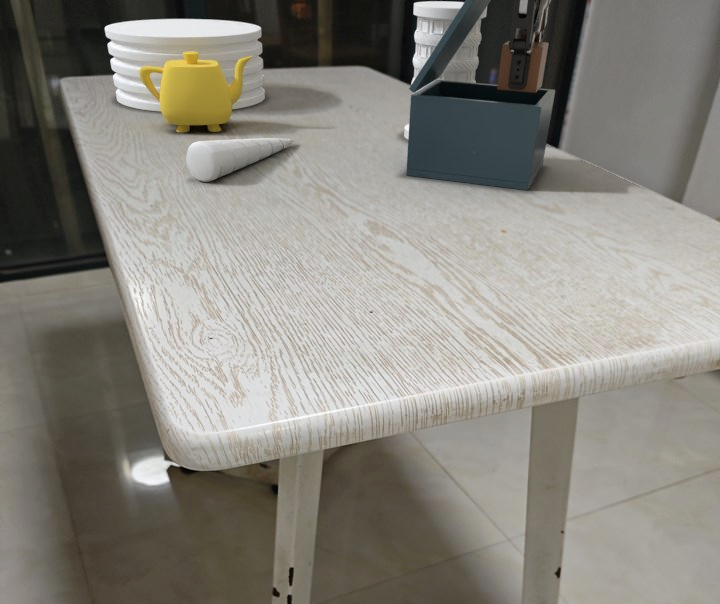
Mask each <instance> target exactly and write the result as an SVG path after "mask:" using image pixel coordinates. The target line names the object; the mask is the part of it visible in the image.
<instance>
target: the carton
mask: <svg viewBox="0 0 720 604" xmlns="http://www.w3.org/2000/svg"><path fill="white" fill-rule="evenodd" d="M509 41H510V40H508V41H506V42H504V43H503V44H502V49H501V54H500V55H501V56H500V63H499V71H498V79H497V85H498V86H497V90H506V91H518V92H529V93H536V92H537V91H538V90H539V89H542V87H543V80H544V74H545V69H546V62H547V55H548V50H549V42H544V41H542V42H534V43H533V52H532V53H531V55H530V56H531V57H530V63H529V70H528V77H527V83H526V87H525V88H524V89H522V90H519V89H510V88H509V87H508V81H509V74H510V67H511V59H512V55H513V54H511V51H510V50H509V46H508V45H509Z"/></svg>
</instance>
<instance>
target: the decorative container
mask: <svg viewBox="0 0 720 604" xmlns="http://www.w3.org/2000/svg"><path fill="white" fill-rule="evenodd" d="M464 2H465V1H447V0H446V1H443V0H439V1H438V0H429V1H418V2H417V1H416V2H414V3H413V11H412V13H413V14H412V15H414V16H416V18H417V20H416V30H415V31H414V34H413V38H414V42H415V50H414V51H415V52H414V54H413V57H412V65H413V66H412V67H413V68H414V70H413V77H412V80H411V83H410V86H411V85H412V83H413V82H414V80H415V79H416V77H417V75H418V74H419V72H420V71H421V69H422V68H423V66H424V65H425V63H426V61H427V60H428V58H429V57H430V55H431V54H432V52H433V51H434V49H435V47H436V46H437V44H438V43H439V41H440V40H441V38H442V37H443V35H444V34H445V32H446V30H447V29H448V27H449V26H450V24H451V23H452V21H453V20H454V18H455V16H456V15H457V13H458V12H459V10H460V9H461V7H462V6H463V4H464ZM487 12H488V6H487V7H486V8H485V10H484V11H483V13H482V14H481V16H480V17H479V19H478V20H477V22H476V23H475V25H474V26H473V28H472V29H471V31H470V32H469V34H468V35H467V37H466V38H465V40H464V41H463V43H462V44H461V46H460V47H459V49H458V50H457V52H456V53H455V55H454V56H453V58H452V59H451V61H450V62H449V64H448V65H447V67H446V68H445V70H444V71H443V73H442V74H441V76H440V77H439V78H438V79H436V80H447V81H458V82H470V83H477V82H476V81H477V80H476V71H477V69H478V66H479V63H480V60H479V56H478V54H479V45H481V41H482V38H483V37H482V33H481V24H482V20H483V19H484V18H486V17H487V14H488V13H487ZM436 80H434V81H436ZM434 81H433V82H434ZM431 83H432V82H431ZM431 83H429V84H431ZM429 84H428V85H429ZM426 86H427V85H426ZM426 86H424V87H426ZM424 87H423V88H424ZM421 89H422V88H421ZM421 89H419V90H421ZM419 90H418V91H419ZM416 92H417V91H416ZM416 92H414V93H416ZM414 93H413V92H412V94H414ZM403 137H404V138H405V139H406V140H408V138H409V123H407V124H405V125H404V132H403Z"/></svg>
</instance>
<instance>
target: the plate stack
mask: <svg viewBox="0 0 720 604" xmlns="http://www.w3.org/2000/svg"><path fill="white" fill-rule="evenodd" d="M104 33H105V37H106V38H107V39H109V40H110V41H109V42H108V43H107V51H108V54H109V55H110V56H113V57H112V58H110V60H109V62H110V63H109V64H110V67H111V70H112V71H113V72H114V74H113V75H112V80H113V85H114V86H115V87H116V88H117V89H116V90H115V97H116V102H118V103H119V104H121V105H123V106H125V107H129V108H132V109H137V110H143V111H148V112H149V111H151V112H160V113H162V112H161V109H160V102H159V101H158V100H157V99H156V98H155V97H154V96H153V94H152V93H151V92H150V91H149V90H148V89H147V87H146V86H145V85H144V83H143V82H142V80H141V78H140V75H139V69H140V68H141V67H144V66H155V67H161V68H164V65H165V63H166V62H167V61H170V60H185V58H184V56H183V53H184V52H189V51H192V52H198V53H199V56H198V60H214V61H217V62H218V63H219V65H220V67H221V70H222V72H223V74H224V77H225V79H226V82H227V84H228V86H229V85H231V84H232V82H233V80H234V77H235V67H236V64H237V62H238V60H239V59H241V58H245V57H249V56H253V57H252V58H251V59H250V60H249V61H248V62H247V63H246V65H245V67H244V70H243V86H242V93H241V96H240V98H239V99H238V101H237V102H235V103H234V104H233V105H232V111H233V110H239V109H244V108H248V107H251V106H256V105H258V104H260V103H262V102H264V100H265V98H266V91H265V88H264V87H263V86H264V85H265V75H264V73H263V72H262V70H263V69H264V59H263V58H262V57H261V56H260V55H262V53H263V42H261V41H259V40H258V39H260V38H262V27H261V26H259V25H257V24H254V23H249V22H243V21H237V20H225V19H223V20H222V19H205V18H204V19H202V18H156V19H141V20H139V19H138V20H128V21H121V22H115V23H111V24H108V25H105V27H104ZM161 78H162V74H161V73H151V74H150V79H151V81H152V83H153V85H154V87H155V88H156V90H157V91H158V93H159V94H160V83H161Z"/></svg>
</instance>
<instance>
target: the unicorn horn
mask: <svg viewBox="0 0 720 604" xmlns="http://www.w3.org/2000/svg"><path fill="white" fill-rule="evenodd" d="M294 141H295V140H294V139H293V138H284V137H283V138H282V137H261V138H258V137H257V138H235V139H216V140H215V139H214V140H198V141H195V142H192V143H191V144H190V145H189V146H188V148H187V151H186V156H185V159H186V165H187V169H188V171H189V172H190V174H191V175H192V176H193V178H195V179H196V180H198V181H199V182H203V183H204V182H205V183H208V182H211V181H214V180H217V179H218V178H221V177H224V176H226V175H229V174H231V173H233V172H235V171H238V170H241V169H242V168H246V167H247V166H249V165H252V164H254V163H256V162H259V161H261V160H263V159H265V158H267V157H270V156H271V155H274V154H276V153H278V152H280V151H281V150H283V149H285V148H288V147H289V146H290V145H292V144H293V143H294Z"/></svg>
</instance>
